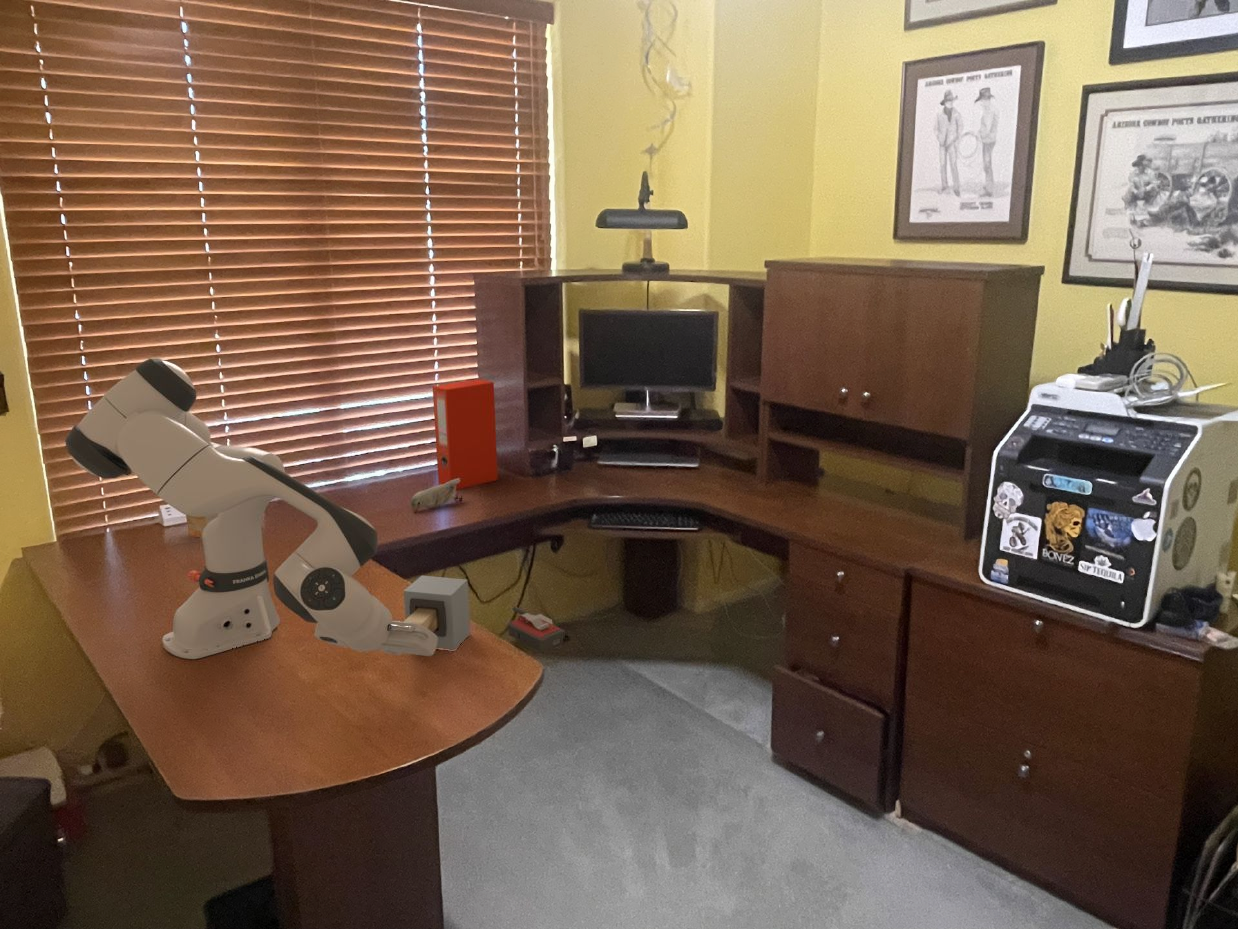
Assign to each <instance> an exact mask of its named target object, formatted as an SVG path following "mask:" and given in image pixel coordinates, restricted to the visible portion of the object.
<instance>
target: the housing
mask: <svg viewBox="0 0 1238 929" xmlns="http://www.w3.org/2000/svg"><path fill="white" fill-rule="evenodd" d="M468 582H469V581H468V579H465V578H463V579H462V578H451V577H442V576H433V575H420V576H419V577H418V578H417V579H416V580H414V581H413V582H412V583H411V584H410V585H409V586H408V587H406V588H405V589H404V590H403V598H404V599H403V600H404V602H403V603H404V612H405V614H404V615H405V620H406V619H407V618H408V617H409V616H410V615H411V614H412V613H413V612H414V611H415V610H417V609H418V608H419V607H430V608H438V620H439V627H438V628H437V629H436V630H435V631H434V632H433V633H434V634H435V635H436V636H437V637H438V642H437V646H436V648H443V649H449V650H455V649H456V648H457V647H458V646H459V645H460V643H462V641H464V639H466V638H467V636H469V637H470V635H471V634H472V633H471V620H470V619H471V618H470V615H471V614H470V600H469V586H468ZM469 634H470V635H469ZM466 640H467V639H466ZM464 642H465V641H464ZM462 644H463V643H462ZM460 646H461V645H460Z"/></svg>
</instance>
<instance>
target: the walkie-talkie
mask: <svg viewBox="0 0 1238 929" xmlns="http://www.w3.org/2000/svg"><path fill="white" fill-rule="evenodd" d="M512 611H513V612H515V613H517V614H518V615H519V616H518V617H517V618H516V619H514V620H510V622H508V624H507V626H508V627H507V628H508V630H507V631H508V636H510V637H512V638H513V639H516V640H518V641H519V642H521V643H524V644H526V645H527V646H530V647H532V648H533V649H535V650H537V651H538V652H547V651H549V650H551V649H554V648H556V647H559V646H561V645H563V644H565V643H568V642H571V639H572V638H571V636H570V635H568V634H566V630H565V629H562V628H561V627H558V626H556V625H554V624H553V619H552V618H549V617H547V616H545V615H543V614H542V613H539V614H532V613H530V612H529V611H526V610H524V609H522V608H519V607H518V606H516V605H514V606H513V607H512Z"/></svg>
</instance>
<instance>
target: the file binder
mask: <svg viewBox="0 0 1238 929" xmlns="http://www.w3.org/2000/svg"><path fill="white" fill-rule="evenodd" d="M494 383H495V382H493V381H489V380H485V379H481V378H478V379H472V380H465V381H459V382H453V383H446V384H440V385H434V386H432V400H433V414H434V431H435V432H434V433H435V434H434V435H435V446H436V449H435V450H436V451H435V452H436V464H437V465H436V466H437V480H438V485H441V484H445V483H447V482H449V481H451V480H454V479H458V478H460V479H459V480H460V482H459V483H458V484H456V491H457V490H461V489H464V488H465V489H466V488H468V487H474V486H478V485H482V484H486V483H490V482H494V481H498V479H499V478H498V476H499V475H498V456H497V452H498V451H497V432H496V431H497V430H496V410H495V409H496V408H495V407H496V406H495V405H496V404H495V384H494Z"/></svg>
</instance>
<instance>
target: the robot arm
mask: <svg viewBox="0 0 1238 929" xmlns="http://www.w3.org/2000/svg"><path fill="white" fill-rule="evenodd" d="M134 369H135V370H133V371H132V372H130V373H128V374H127V375H126V376H125V377H123V378H122V379H121V380H119V381H118V382H117V383H116V384H114V385H113V386H111V387H110V389H108V390H107V391H106V392H105V393H104V395H103V396H102V397H101V398H100V399H99V400H98V401H97V402H96V403H95V404H94V405H93V406H92V407H91V408H90V409H89V411H88V412H87V413H86V414H85V415H84V417H83V418H82V419H81V421H79V423H78V424H77V423H76V424H74V425H73V427H72V428H71V430H70V431H69V432H68V434H67V436H66V437H65V439H64V442H65V443H64V444H65V450H66V451H67V452H68V453H69V455H70V457H71V458H72V460H73V461H74V463H75V464H77V466H78V467H80V468H81V469H82V470H83V471H85V472H87V473H89V474H91V475H93V476H96V477H97V476H98V477H99V478H101V479H116V478H119V477H121V476H124V475H125V476H129V475H131V474H132V472H133V473H134V475H136V477H137V478H138V479H139V480H140V481H141V482H142V483H143V484H144V485H145V486H146V487H147V488H148V489H149V490H150V491H152V492H153V493H154V494H155V495H156V496H157V497H159V498H160V499H161V500H163V502H165V503H166V504H168V505H169V506H170V507H172V508H173V509H175V510H176V511H178V512H180V514H183V515H185V516H186V515H188V516H193V517H206V516H211V515H215V514H218V513H219V514H218V517H217V518H215V519H213V520H212V521H211V522H209V523H208V524H207V525H206V527H205V528H204V530H203V533H202V538H201V540H202V545H203V554H204V559H205V560H204V561H205V566H204V569H203V571H202V572H200V571H198V570H195V569H193V570H191V571H189V573H188V576H187V577H188V578H189V580H190V581H193V582H195V583H197V582H198V584H199V587H198V588H196V590H195V591H194V592H193V594H191V596H189V598H188V599H186V601H185V602H183V604H181V606H180V607H178V608H177V610H176V611H175V613H174V616H173V622H172V631H170V632H168V633H166V634H164V635H163V637H162V640H161V641H162V646H163V649H165V650H166V651H167V652H169V653H170V654H172V655H173V656H176V657H178V658H182V659H187V660H197V659H201V658H204V657H208V656H212V655H215V654H219V653H222V652H225V651H226V652H227V651H228V650H229V651H230V650H233V649H236V647H237V648H239V647H244V646H246V645H250V644H253V643H257V641H258V642H261V641H265V640H267V639H270V638H271V636H272V633H273V631H274V630H275V629H276V628H277V627H278V626H279V624H280V622H281V617H280V615H279V613H278V612H277V610H276V607H275V605H274V602H273V599H272V594H271V591H270V586H269V580H270V579H269V578H270V576H269V568H268V562H267V558H266V556H264V555H265V554H264V545H263V534H262V524H263V517H264V513H265V511H266V509H267V507H268V506H269V504H270V502H271V501H272V500H274V499H275V498H278V499H280V500H282V501H283V502H285V503H287V504H289V505H290V506H292V507H294V508H295V509H297V510H299V511H300V512H302V513H304V514H305V515H307V516H309V517H310V518H312V519H313V520H315V522H317V527H316V529H314V530H313V532H311V534H310V535H309V536H308V537H307V538H306V539H305V540H304V541H303V542H302V543H301V544H300V546H298V547H297V549H295V550H294V551H293V552H292V553H291V554H290V555H289V556H288V557H287V558H286V559H285V560H284V561H283V562H282V564H280V566H278V568H277V569H276V570H275V572H273V579H272V580H273V590H274V591H273V592H274V595H275V596H276V598H277V599H278V600H279V601H280V602H281V603H282V604H283V605H284V606H285V607H286V608H287V609H289V610H290V611H292V612H293V613H294V614H296V615H297V616H298V617H299V618H301V619H302V620H304V621H305V622H306V623H312V624H316V625H315V630H314V634H313V636H314V637H315V638H317V639H318V640H320V641H323V642H325V643H327V644H329V645H333V646H338V647H346V648H349V649H352V650H353V651H355V652H359V653H360V652H361V653H366V652H371V651H382V652H383V653H385V654H387V655H388V654H389V655H397V656H402V655H403V654H406V655H415V656H425V657H432V656H433V655H434V654H435V653H436V651H437V650H436V646H437V642H438V637H437V636H436V635H435V634H434V633H433V632H432V631H430V630H429V629H427V628H426V627H424V626H422V625H420V624H416V623H410V622H404V621H399V620H393V615H392V613H391V611H390V610H389V608H388V607H387V606H385V605H384V604H383V602H381V601H380V600H379V599H378V598H377V597H376V596H375V595H374V594H371V593H370V592H369V590H368V589H367V588H366V587H365V586H364V585H363V584H362V583H360V582H359V581H358V580H357V579H355V578H354V577H353V575H354V574H356V572H357V571H359V569H360V568H362V567H364V565H365V564H366V563H368V562H369V561H370V560H371V559H372V558H374V556H376V555H377V550H378V531H376V529H375V528H374V526H373V525H372V523H370V522H369V521H368V520H367V519H366V518H364V517H363V516H362V515H360V514H359V513H356V512H354V511H351V510H350V509H347V508H345V507H343V506H340V505H338V504H336V503H335V502H333V501H331V500H330V499H328V498H327V497H325V496H324V495H322V494H320V493H318V492H317V491H315V490H314V489H312V488H310V486H308V485H305V483H304V484H303V483H302V482H301V481H299V480H297V479H295V478H294V477H292V476H291V475H289V474H288V473H286V470H285V469H286V468H285V466H284V463H283V462H282V460H281V458H280V457H279V456H278V455H277V454H274V453H272V452H269V451H266V450H263V449H261V448H256V447H251V446H250V447H249V446H248V447H247V446H235V445H234V446H233V445H225V444H220V443H215V442H213V441H212V440H211V437H212V436H211V431H210V428H209V427H208V425H207V424H206V423H205V422H204V421H202V420H201V419H199V417H197V416H195V414H193V413H192V412H190V410H191V409H192V408H193V406H194V404H195V403H196V400H197V389H196V387H194V384H193V382H192V380H191V378H190V377H189V375H188V374H187V373H186V372H185V371H184V370H183V369H182V368H181V367H179V366H178V365H177V364H174V363H173V362H171V361H167V360H164V359H162V358H160V357H159V358H153V357H152V358H151V357H150V358H148V359H146V360H144V361H142V362H141V363H139V364H137V365H136V366H135V367H134ZM264 639H265V640H264ZM243 645H244V646H243ZM232 648H233V649H232Z"/></svg>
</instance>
